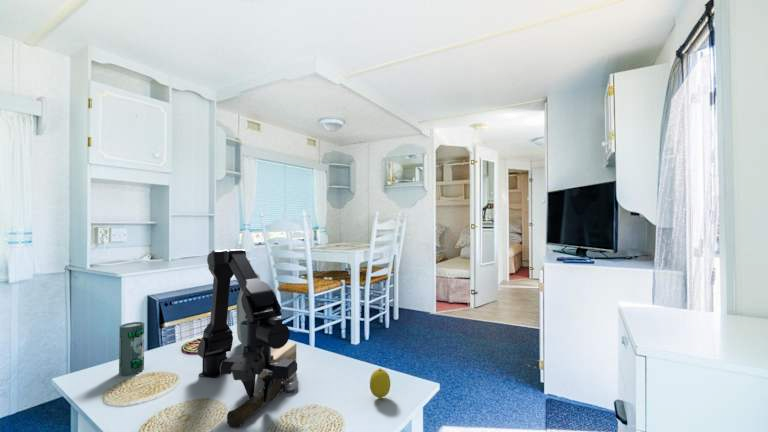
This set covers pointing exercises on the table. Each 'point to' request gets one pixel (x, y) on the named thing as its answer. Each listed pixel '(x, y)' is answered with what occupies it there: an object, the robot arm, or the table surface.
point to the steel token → (289, 386)
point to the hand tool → (251, 406)
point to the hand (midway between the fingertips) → (258, 400)
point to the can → (131, 348)
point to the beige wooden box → (282, 356)
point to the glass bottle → (241, 312)
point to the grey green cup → (243, 333)
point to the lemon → (380, 383)
